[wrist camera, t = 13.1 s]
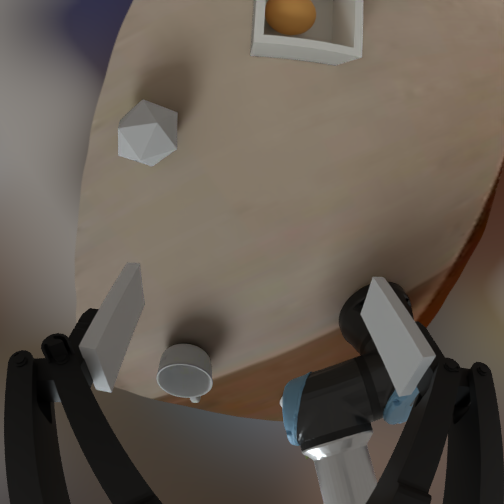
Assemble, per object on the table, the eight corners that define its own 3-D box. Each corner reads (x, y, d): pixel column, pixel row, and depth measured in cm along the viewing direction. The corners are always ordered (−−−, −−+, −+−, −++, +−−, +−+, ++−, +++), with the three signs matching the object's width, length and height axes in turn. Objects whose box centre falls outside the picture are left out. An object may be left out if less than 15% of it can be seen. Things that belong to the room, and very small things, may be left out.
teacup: (159, 334, 57) (151, 363, 50) (213, 336, 57) (210, 367, 50) (169, 377, 63) (164, 404, 56) (216, 379, 64) (214, 407, 57)
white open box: (338, -5, 30) (362, -27, 21) (335, 65, 35) (361, 57, 27) (254, -16, 29) (259, -45, 20) (250, 55, 35) (253, 42, 26)
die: (118, 122, 38) (101, 171, 34) (138, 79, 32) (120, 126, 28) (166, 138, 43) (157, 188, 39) (192, 100, 37) (185, 149, 33)
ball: (322, 1, 28) (309, -17, 23) (320, 41, 32) (307, 28, 26) (276, 1, 31) (257, -14, 26) (274, 39, 34) (254, 28, 29)
